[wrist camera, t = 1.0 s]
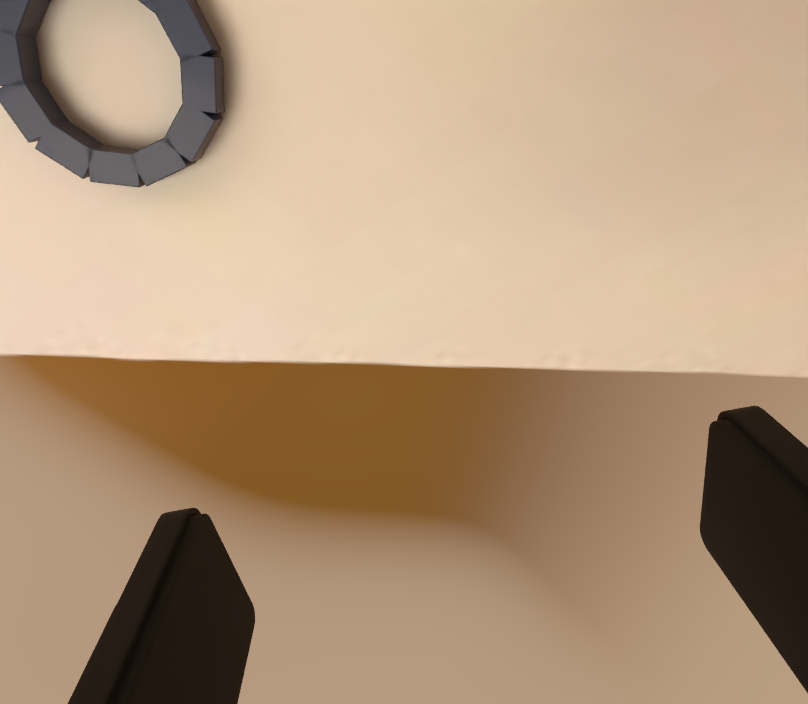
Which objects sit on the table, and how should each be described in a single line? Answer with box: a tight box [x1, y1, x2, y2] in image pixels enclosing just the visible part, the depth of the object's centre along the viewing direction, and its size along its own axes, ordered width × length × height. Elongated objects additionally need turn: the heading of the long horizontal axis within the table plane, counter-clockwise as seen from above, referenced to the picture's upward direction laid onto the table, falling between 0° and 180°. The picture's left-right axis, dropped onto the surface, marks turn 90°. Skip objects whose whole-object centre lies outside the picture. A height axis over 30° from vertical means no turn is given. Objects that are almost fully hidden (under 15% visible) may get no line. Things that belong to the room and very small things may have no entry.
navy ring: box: [0, 0, 225, 187], centre depth 29 cm, size 12×12×2 cm
